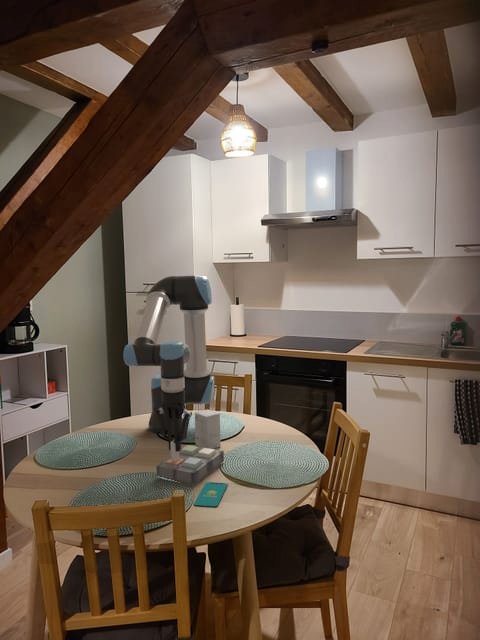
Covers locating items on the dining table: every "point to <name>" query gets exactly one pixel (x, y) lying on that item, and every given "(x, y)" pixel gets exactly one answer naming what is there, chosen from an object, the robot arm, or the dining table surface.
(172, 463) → the key terracotta
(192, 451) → the key sage
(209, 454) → the key ivory
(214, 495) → the smartphone
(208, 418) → the small box
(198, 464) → the key blue
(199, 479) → the keypad
